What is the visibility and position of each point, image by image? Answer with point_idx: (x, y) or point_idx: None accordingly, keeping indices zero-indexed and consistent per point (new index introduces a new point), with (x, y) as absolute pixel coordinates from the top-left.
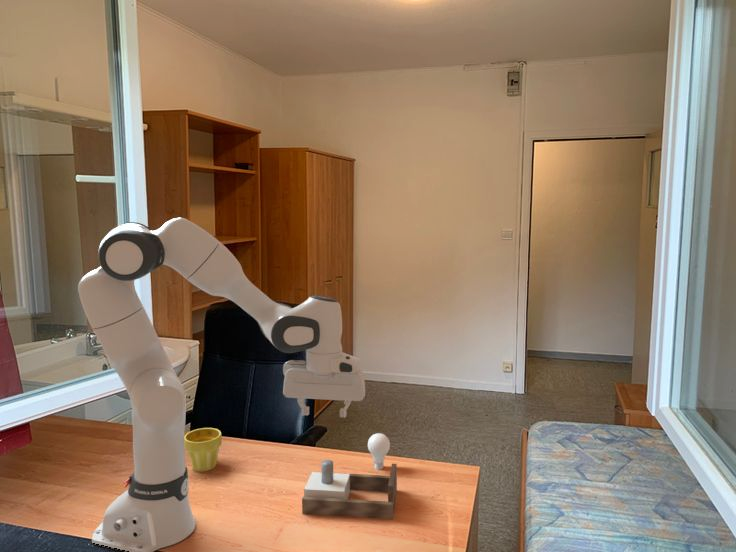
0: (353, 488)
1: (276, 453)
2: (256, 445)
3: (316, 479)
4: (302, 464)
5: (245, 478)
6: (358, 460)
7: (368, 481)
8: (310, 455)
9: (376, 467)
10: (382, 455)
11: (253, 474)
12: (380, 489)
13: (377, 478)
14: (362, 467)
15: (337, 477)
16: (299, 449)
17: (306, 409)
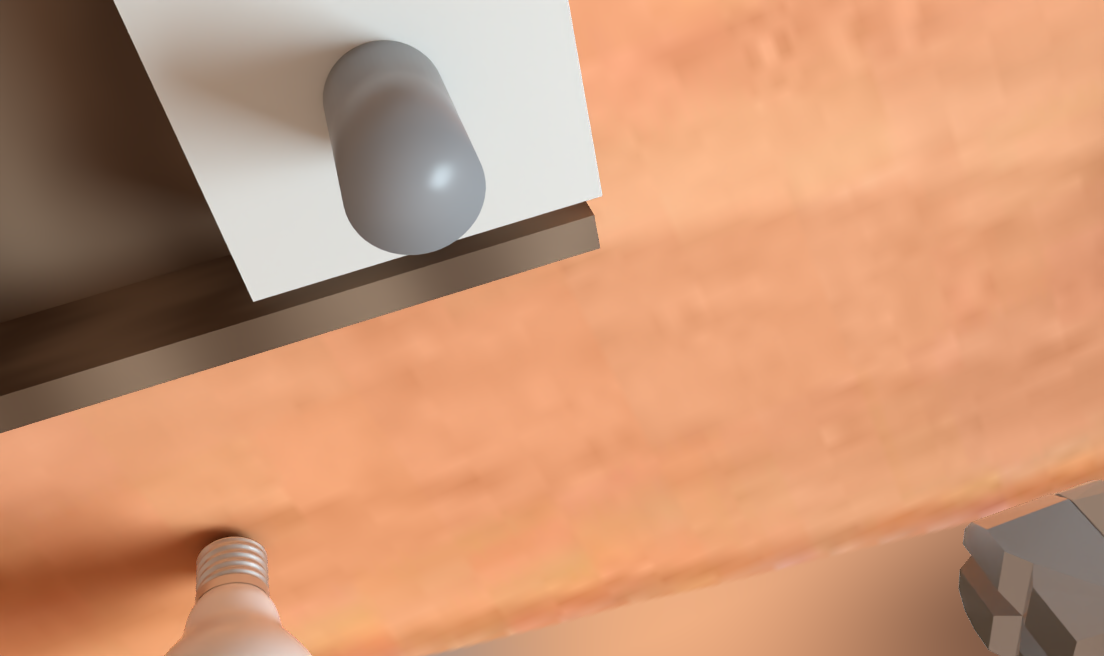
0: None
1: (956, 433)
2: (1090, 452)
3: (505, 89)
4: (761, 401)
5: (1082, 101)
6: (430, 583)
7: (108, 337)
8: (748, 501)
9: (235, 555)
10: (175, 644)
11: (1040, 168)
12: (12, 331)
13: (22, 382)
14: (363, 534)
15: (329, 202)
16: (834, 523)
17: (1099, 620)
